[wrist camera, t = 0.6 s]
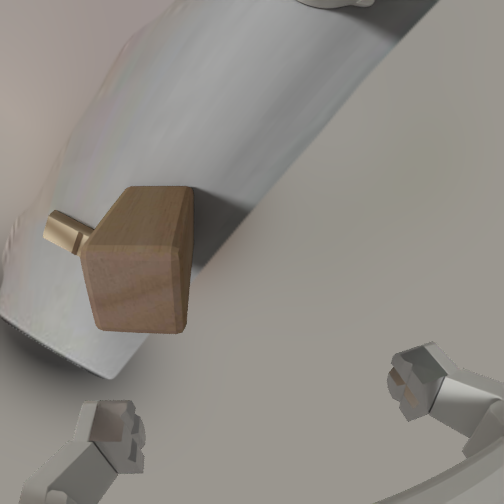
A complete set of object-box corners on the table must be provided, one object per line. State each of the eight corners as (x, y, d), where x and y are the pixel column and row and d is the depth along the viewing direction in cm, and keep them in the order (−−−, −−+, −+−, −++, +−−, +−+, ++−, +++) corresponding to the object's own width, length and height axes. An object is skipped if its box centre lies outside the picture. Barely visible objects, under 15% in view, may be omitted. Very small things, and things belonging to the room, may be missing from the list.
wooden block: (194, 247, 50) (186, 338, 32) (130, 246, 48) (94, 333, 31) (194, 184, 45) (181, 251, 27) (125, 184, 44) (74, 249, 26)
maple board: (55, 209, 44) (48, 216, 41) (170, 267, 51) (168, 276, 48) (49, 230, 45) (42, 237, 43) (159, 285, 52) (157, 294, 50)
